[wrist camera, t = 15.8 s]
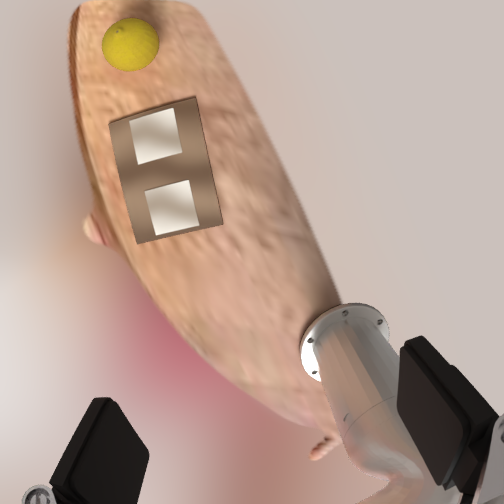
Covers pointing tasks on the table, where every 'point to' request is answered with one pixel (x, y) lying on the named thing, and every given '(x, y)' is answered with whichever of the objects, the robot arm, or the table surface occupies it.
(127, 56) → the lemon
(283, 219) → the table surface
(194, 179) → the label board
